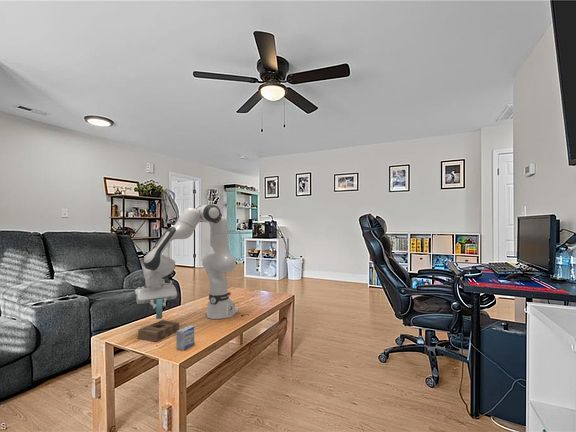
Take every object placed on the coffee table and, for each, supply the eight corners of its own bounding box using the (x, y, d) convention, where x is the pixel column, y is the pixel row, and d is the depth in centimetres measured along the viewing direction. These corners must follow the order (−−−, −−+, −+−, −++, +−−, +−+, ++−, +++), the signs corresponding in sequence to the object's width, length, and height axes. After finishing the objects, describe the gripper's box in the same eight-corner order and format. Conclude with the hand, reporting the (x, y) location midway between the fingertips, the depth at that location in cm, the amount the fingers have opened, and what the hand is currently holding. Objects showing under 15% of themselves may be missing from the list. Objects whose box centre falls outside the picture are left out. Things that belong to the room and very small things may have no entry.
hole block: (161, 328, 162) (162, 320, 163) (179, 330, 158) (179, 322, 158) (138, 338, 148) (138, 329, 148) (156, 342, 143) (156, 332, 143)
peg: (159, 317, 155) (159, 298, 155) (163, 317, 154) (163, 298, 154) (154, 318, 152) (155, 299, 152) (159, 319, 151) (159, 300, 151)
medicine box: (183, 350, 134) (183, 331, 134) (175, 349, 135) (176, 330, 136) (194, 344, 141) (194, 326, 141) (187, 342, 143) (187, 325, 143)
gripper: (135, 284, 152) (139, 307, 144) (174, 280, 165) (180, 300, 157) (133, 291, 156) (137, 314, 148) (172, 286, 169) (177, 307, 161)
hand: (159, 307), depth 153 cm, fingers closed on peg, 3 cm apart
